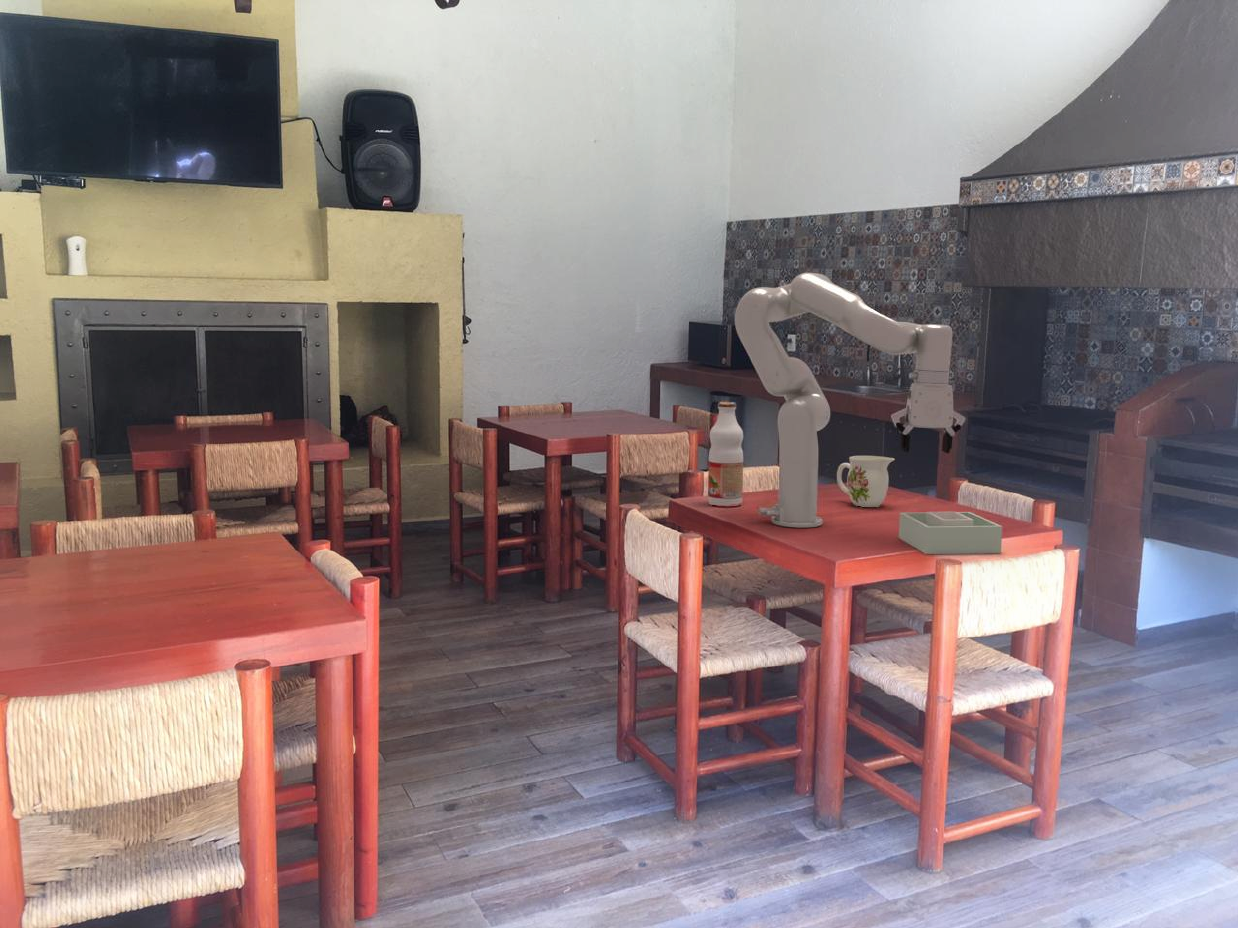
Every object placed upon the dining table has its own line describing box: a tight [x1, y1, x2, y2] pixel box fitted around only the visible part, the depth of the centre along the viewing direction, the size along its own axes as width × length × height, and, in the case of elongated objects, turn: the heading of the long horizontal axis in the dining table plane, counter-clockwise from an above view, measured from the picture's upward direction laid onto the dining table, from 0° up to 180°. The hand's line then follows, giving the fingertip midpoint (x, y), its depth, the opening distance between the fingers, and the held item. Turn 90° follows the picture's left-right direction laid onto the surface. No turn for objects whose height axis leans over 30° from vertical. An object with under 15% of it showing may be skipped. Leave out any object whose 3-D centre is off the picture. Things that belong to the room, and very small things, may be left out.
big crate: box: [898, 511, 1003, 555], centre depth 241 cm, size 17×17×6 cm
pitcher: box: [836, 455, 895, 508], centre depth 291 cm, size 11×18×14 cm, turn 43°
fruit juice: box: [707, 401, 744, 505], centre depth 289 cm, size 9×9×28 cm
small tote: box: [925, 511, 974, 527], centre depth 241 cm, size 7×10×6 cm
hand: (925, 451), depth 248 cm, fingers open, 9 cm apart
